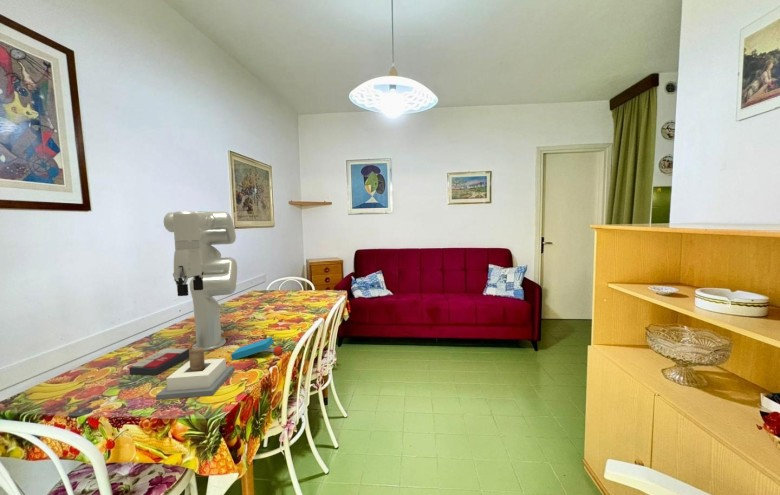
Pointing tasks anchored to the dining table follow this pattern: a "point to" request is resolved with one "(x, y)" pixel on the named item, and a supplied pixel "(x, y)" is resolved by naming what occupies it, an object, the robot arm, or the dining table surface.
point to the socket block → (196, 380)
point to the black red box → (159, 362)
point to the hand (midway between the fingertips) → (191, 292)
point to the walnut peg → (196, 360)
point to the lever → (256, 349)
